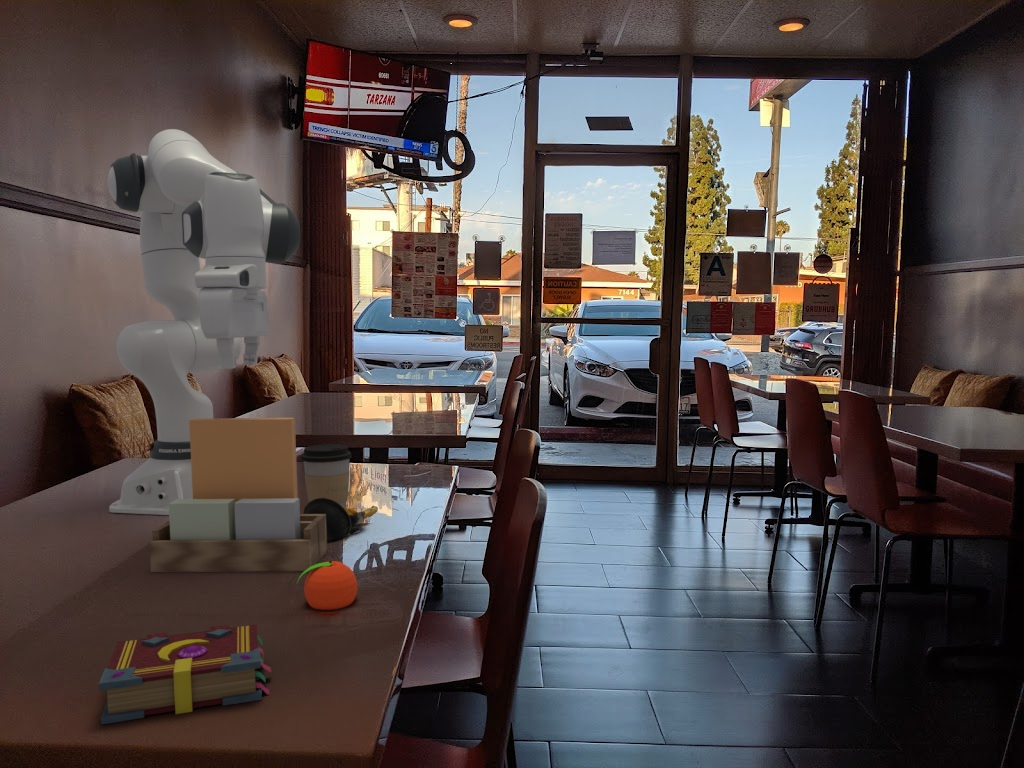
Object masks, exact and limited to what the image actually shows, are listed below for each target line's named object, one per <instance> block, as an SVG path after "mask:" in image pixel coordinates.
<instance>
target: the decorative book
mask: <svg viewBox="0 0 1024 768" xmlns="http://www.w3.org/2000/svg"><path fill="white" fill-rule="evenodd" d="M259 643H260V644H261V645H262V646H264V645H263V640H262V639H261V637H260V636H259V634H258V625H257V624H250V625H244V626H234V627H230V624H225V625H216V626H210V627H209V630H205V631H196V632H188V633H180V634H173V635H168V632H161V633H153V634H152V633H151V634H147V635H146V637H145V638H140V639H134V640H133V639H132V640H125V641H117V642H116V644H115V647H114V650H113V653H112V655H111V657H110V660H109V663H108V665H107V667H104V671H103V672H102V675H101V678H100V680H99V682H98V691H106V697H107V700H106V702H105V706H104V708H103V710H102V713H101V716H100V723H101V725H107V724H113V723H120V722H126V721H130V720H131V721H133V720H138V719H145V716H149V715H156V714H162V713H163V714H165V713H170V712H174V713H175V715H179V714H184V713H185V714H186V713H191V712H193V710H194V709H195V708H202V707H208V706H214V705H222V706H228V705H229V706H230V705H235V704H243V703H249V702H257V701H263V692H264V693H265V694H266V695H269V696H270V689H269V688H267V687H266V686H264V684H263V683H262V680H263V682H264V683H266V676H265V675H264V674H263V673H262V672H260V670H259V669H261V667H262V669H264V670H266V671H268V672H270V673H272V668H271V666H269V665H267V664H265V661H264V658H262V657H261V654H262V656H263V657H265V654H264V649H263V648H261V646H260V647H259Z"/></svg>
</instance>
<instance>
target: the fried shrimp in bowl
mask: <svg viewBox="0 0 1024 768" xmlns="http://www.w3.org/2000/svg"><path fill="white" fill-rule="evenodd" d="M378 510H379V508H378V506H376V505H372V506H371V507H368V508H366V509H364V510H362V511H359V512H358V511H357V510H356V509H354V507H351V508H350V507H349V508H348V507H346V508H345V507H343V506H341V505H340V504H339V503H337V502H335V501H333V500H331V499H327V498H318V499H314V500H312V501H310V502H309V503H307V504H306V506H305V507H304V509H303V513H302V514H326V531H327V543H329V542H334V541H337V540H339V539H342V538H343V537H347V536H353V535H355V534H356V533H361V532H362V531H361V530H360V528H361V526H362V525H363V524H364V522H365V519H367V518H371V517H373V516H374V514H376V513H377V512H378Z"/></svg>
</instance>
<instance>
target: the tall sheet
mask: <svg viewBox="0 0 1024 768" xmlns="http://www.w3.org/2000/svg"><path fill="white" fill-rule="evenodd" d="M189 426H190V447H191V468H192V489H193V499H235V503H236V502H237V501H239V500H240V499H269V498H299V496H298V474H297V473H298V472H297V471H298V468H297V447H296V445H297V444H296V418H295V417H234V418H233V417H231V418H227V417H226V418H224V417H222V418H218V417H217V418H215V417H213V418H208V419H192V420H189Z"/></svg>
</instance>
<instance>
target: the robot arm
mask: <svg viewBox="0 0 1024 768" xmlns="http://www.w3.org/2000/svg"><path fill="white" fill-rule="evenodd" d="M107 188H108V192H109V195H110V196H111V198H112V200H113V203H114V204H115V205H116V206H117V207H118V209H120V210H123V211H127V212H132V213H133V212H134V213H137V212H141V215H140V223H139V224H140V225H139V246H140V248H139V249H140V257H141V264H142V271H143V280H144V286H145V287H144V288H145V291H146V293H147V294H148V295H149V297H150V298H152V299H153V300H154V301H156V302H157V303H160V304H162V305H163V306H164V307H166V308H167V310H169V311H170V313H171V314H172V317H173V319H174V320H172V319H171V320H169V319H168V320H166V319H165V320H146V321H141V322H137V323H133V324H129V325H126V326H125V327H124V328H123V329H122V330H121V332H120V334H119V335H118V337H117V340H116V346H115V347H116V355H117V358H118V360H119V362H120V363H121V366H123V368H124V369H126V371H128V372H129V373H131V374H132V375H134V376H136V378H138V379H139V380H140V381H141V383H143V385H144V386H145V388H146V389H147V391H148V393H149V394H150V396H151V399H152V402H153V406H154V411H155V420H156V421H155V422H156V431H157V432H156V434H157V439H156V440H154V441H153V442H151V443H150V444H148V445H146V446H145V448H146V449H145V451H146V452H149V458H148V459H147V460H146V461H144V462H143V463H142V464H141V465H140V466H138V467H137V468H136V469H134V471H133V472H131V473H130V474H128V475H127V476H126V477H125V478H124V480H123V483H122V486H121V491H120V498H119V499H117V500H115V501H114V502H112V503H111V504H110V505H109V509H108V511H109V513H116V514H135V515H136V514H137V515H138V514H139V515H140V514H141V515H159V516H169V503H171V502H173V501H175V500H177V499H193V489H192V468H191V447H190V426H189V420H192V419H208V418H214V407H213V402H212V401H211V399H210V397H208V396H207V395H206V393H205V394H204V392H202V391H200V390H196V389H195V388H193V387H192V386H191V384H190V381H189V380H188V375H187V374H188V373H195V372H197V373H198V372H212V371H217V370H221V369H223V370H226V369H227V370H232V369H235V368H236V367H237V361H238V360H239V358H240V356H241V352H242V350H243V349H242V348H243V347H242V346H243V344H242V338H243V343H244V344H245V347H244V354H242V355H243V356H242V359H243V365H244V366H255V365H257V364H258V353H259V348H260V343H261V342H260V341H261V340H260V339H261V338H260V337H264V336H268V335H269V333H270V329H271V328H270V327H271V326H270V324H271V323H270V313H269V304H268V298H267V294H266V293H265V291H263V290H265V289H267V269H266V268H267V267H266V263H269V264H280V265H281V264H284V263H285V262H286V261H288V260H289V259H290V258H291V257H292V256H293V255H294V254H295V253H296V252H297V251H298V249H299V247H300V245H301V244H300V243H301V237H302V235H301V234H302V233H301V227H300V226H301V225H300V222H299V219H298V218H297V216H296V214H295V213H294V212H293V211H292V210H291V209H290V208H289V206H287V205H286V203H281V202H280V203H279V202H278V203H277V202H276V201H275V200H273V199H272V198H271V197H270V196H269V195H268V194H266V193H265V191H263V190H262V189H261V188H260V186H259V183H258V179H257V178H255V177H254V176H253V175H250V174H246V173H240V172H238V171H235V170H234V169H232V168H230V167H228V166H227V165H226V164H224V163H222V162H221V161H219V160H218V159H216V158H215V157H214V156H213V155H211V154H210V152H209V151H208V149H206V147H205V146H204V144H202V143H201V142H200V141H199V140H198V139H197V138H195V137H194V136H193V135H191V134H190V133H188V132H186V131H183V130H181V129H176V128H169V129H163V130H161V131H160V132H157V133H156V134H155V135H154V136H153V138H152V139H151V140H150V142H149V143H148V150H147V155H140V154H139V155H138V154H136V153H135V152H132V153H131V154H130V155H126V156H123V157H119V158H117V159H116V160H115V161H114V162H112V163H111V164H110V169H109V171H108V175H107ZM200 259H203V260H205V262H204V263H205V265H204V266H203V267H202V268H201V264H200Z"/></svg>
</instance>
